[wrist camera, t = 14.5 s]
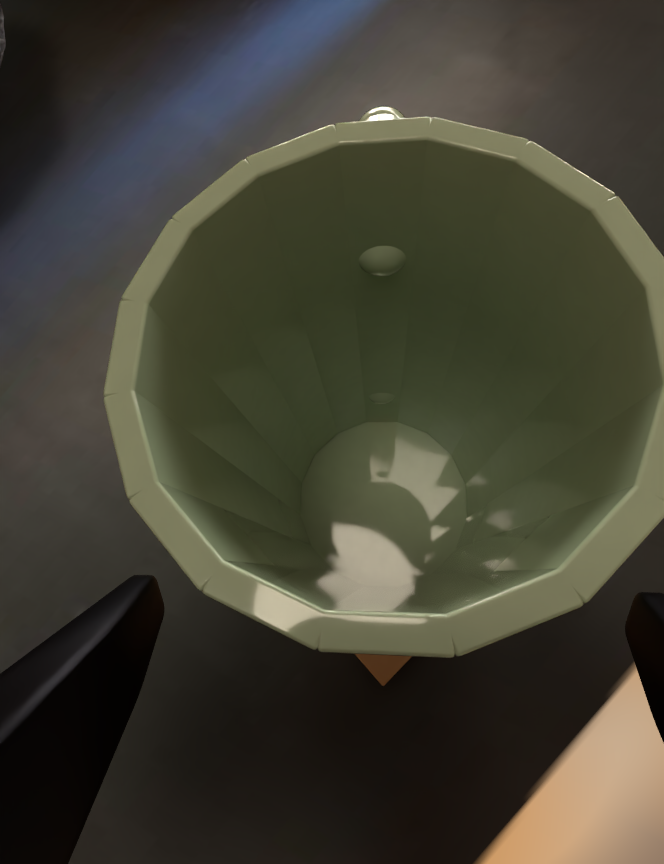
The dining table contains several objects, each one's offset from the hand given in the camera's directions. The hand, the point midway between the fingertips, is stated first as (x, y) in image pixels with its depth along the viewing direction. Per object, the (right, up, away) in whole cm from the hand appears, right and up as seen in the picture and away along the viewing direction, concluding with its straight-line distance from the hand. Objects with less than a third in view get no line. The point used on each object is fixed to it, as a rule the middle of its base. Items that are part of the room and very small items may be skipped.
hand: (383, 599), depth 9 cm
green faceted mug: (+1, +2, +9) cm, 10 cm away
